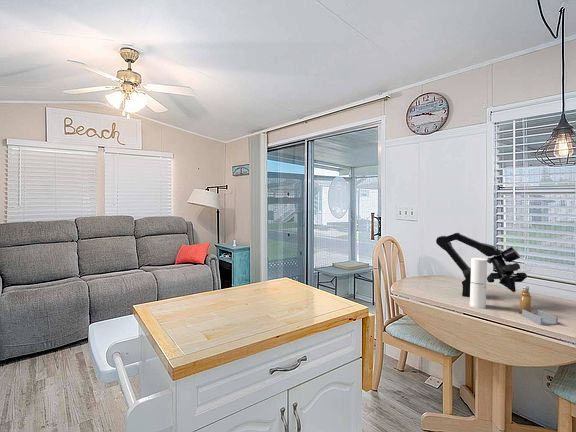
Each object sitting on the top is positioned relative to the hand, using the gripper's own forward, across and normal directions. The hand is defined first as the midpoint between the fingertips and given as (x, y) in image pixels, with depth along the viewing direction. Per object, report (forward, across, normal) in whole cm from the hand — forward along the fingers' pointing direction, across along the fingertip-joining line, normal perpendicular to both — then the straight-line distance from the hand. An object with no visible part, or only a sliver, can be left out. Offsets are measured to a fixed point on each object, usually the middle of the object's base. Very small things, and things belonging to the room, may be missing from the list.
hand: (514, 291), depth 166 cm
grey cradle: (+18, 0, -6) cm, 19 cm away
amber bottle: (+12, 0, +1) cm, 12 cm away
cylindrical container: (+3, -16, +9) cm, 19 cm away
